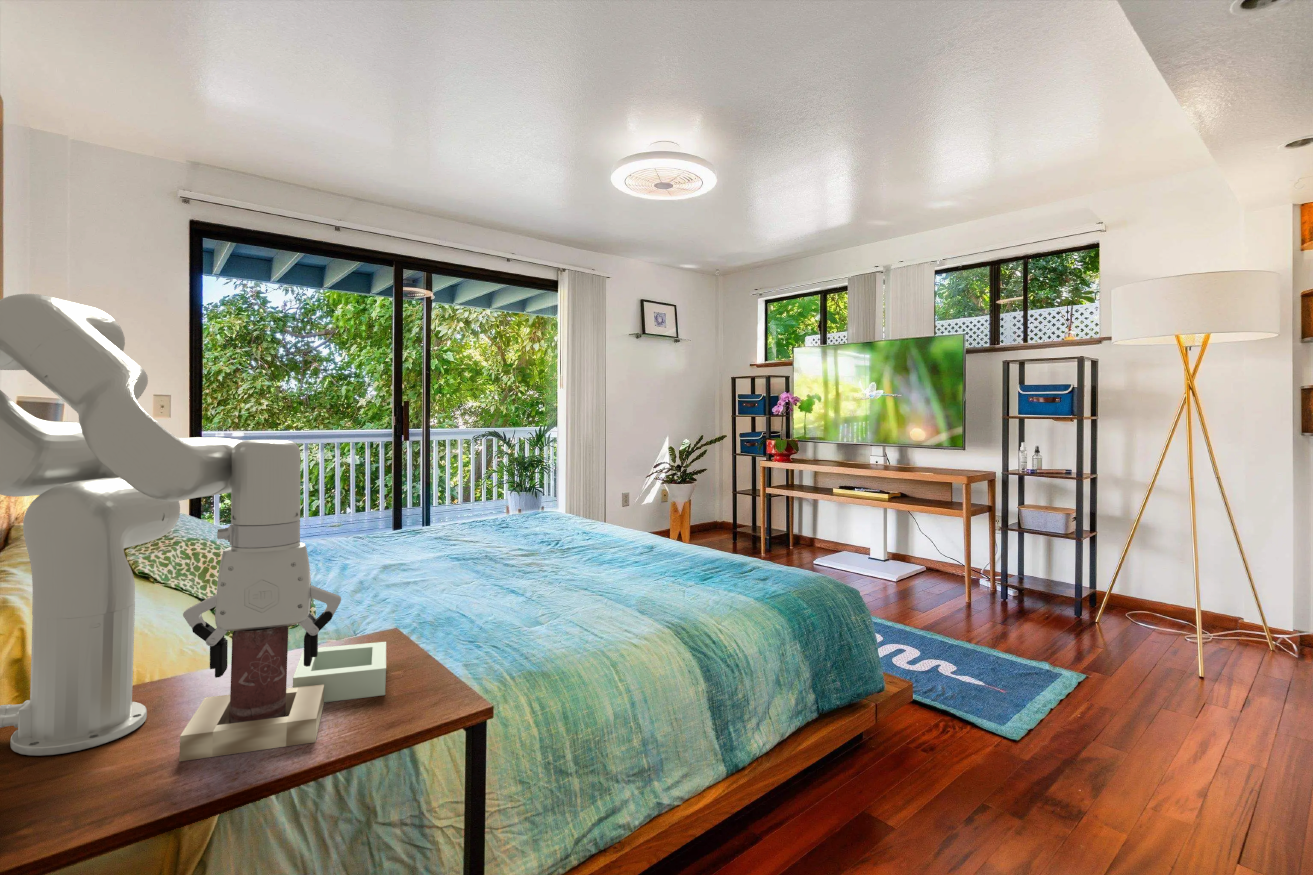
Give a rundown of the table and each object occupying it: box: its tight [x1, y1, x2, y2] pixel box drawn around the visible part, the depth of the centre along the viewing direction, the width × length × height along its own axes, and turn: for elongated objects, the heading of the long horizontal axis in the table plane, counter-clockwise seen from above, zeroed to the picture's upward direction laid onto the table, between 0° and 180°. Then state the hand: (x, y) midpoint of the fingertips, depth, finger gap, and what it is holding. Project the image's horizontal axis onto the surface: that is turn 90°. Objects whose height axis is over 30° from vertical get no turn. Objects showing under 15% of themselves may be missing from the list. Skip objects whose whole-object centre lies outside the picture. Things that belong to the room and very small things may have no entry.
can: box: [229, 626, 289, 724], centre depth 81 cm, size 6×6×14 cm
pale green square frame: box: [292, 641, 387, 703], centre depth 96 cm, size 12×12×4 cm
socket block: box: [178, 684, 325, 762], centre depth 81 cm, size 14×11×3 cm
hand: (265, 667), depth 81 cm, fingers open, 9 cm apart
